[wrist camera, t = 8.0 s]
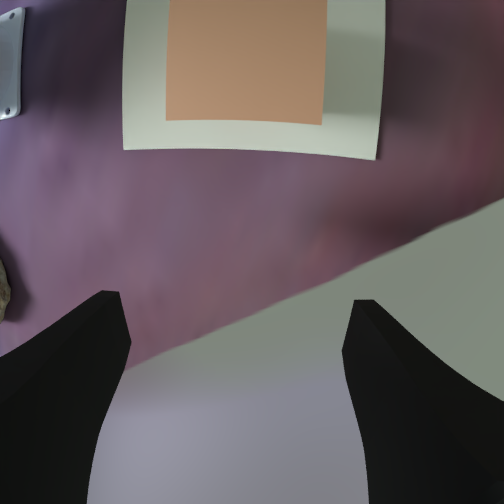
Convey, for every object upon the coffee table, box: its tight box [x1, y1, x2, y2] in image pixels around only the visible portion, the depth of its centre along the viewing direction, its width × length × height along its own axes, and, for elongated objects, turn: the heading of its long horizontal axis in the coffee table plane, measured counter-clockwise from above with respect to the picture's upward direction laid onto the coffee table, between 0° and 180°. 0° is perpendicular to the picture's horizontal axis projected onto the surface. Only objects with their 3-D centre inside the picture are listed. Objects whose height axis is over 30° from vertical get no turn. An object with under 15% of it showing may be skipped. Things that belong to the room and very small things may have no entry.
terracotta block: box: [166, 0, 327, 125], centre depth 11 cm, size 4×4×8 cm
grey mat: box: [122, 0, 385, 160], centre depth 14 cm, size 14×12×1 cm
